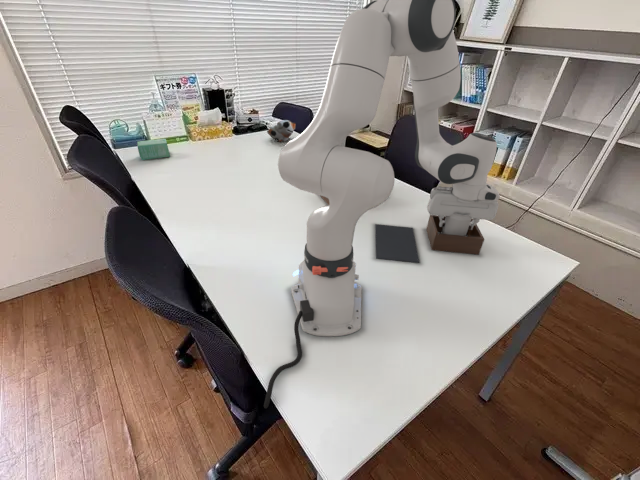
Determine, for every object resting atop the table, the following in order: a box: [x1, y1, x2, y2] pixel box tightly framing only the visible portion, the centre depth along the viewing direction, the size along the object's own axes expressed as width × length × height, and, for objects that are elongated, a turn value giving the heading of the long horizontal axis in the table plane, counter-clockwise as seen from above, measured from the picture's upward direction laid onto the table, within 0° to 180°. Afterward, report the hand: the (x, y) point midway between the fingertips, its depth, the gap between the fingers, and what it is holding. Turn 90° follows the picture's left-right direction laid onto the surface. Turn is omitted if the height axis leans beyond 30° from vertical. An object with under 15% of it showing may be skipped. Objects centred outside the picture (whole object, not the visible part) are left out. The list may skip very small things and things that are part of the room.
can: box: [440, 213, 472, 236], centre depth 106 cm, size 8×8×12 cm
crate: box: [425, 214, 485, 256], centre depth 108 cm, size 13×15×6 cm
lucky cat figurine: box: [266, 119, 296, 143], centre depth 192 cm, size 15×12×14 cm
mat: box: [374, 223, 420, 264], centre depth 108 cm, size 20×13×1 cm, turn 173°
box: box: [136, 138, 171, 161], centre depth 163 cm, size 7×14×8 cm, turn 116°
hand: (455, 227), depth 106 cm, fingers closed on can, 7 cm apart
